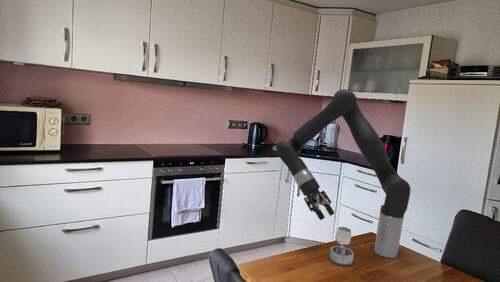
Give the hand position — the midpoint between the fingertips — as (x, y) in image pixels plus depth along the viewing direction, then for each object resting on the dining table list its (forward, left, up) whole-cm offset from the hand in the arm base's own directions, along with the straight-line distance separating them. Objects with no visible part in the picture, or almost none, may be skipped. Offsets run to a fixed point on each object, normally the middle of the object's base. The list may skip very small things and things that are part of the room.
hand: (327, 216), depth 135 cm
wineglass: (+2, +7, -15) cm, 17 cm away
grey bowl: (+2, +8, -16) cm, 17 cm away
